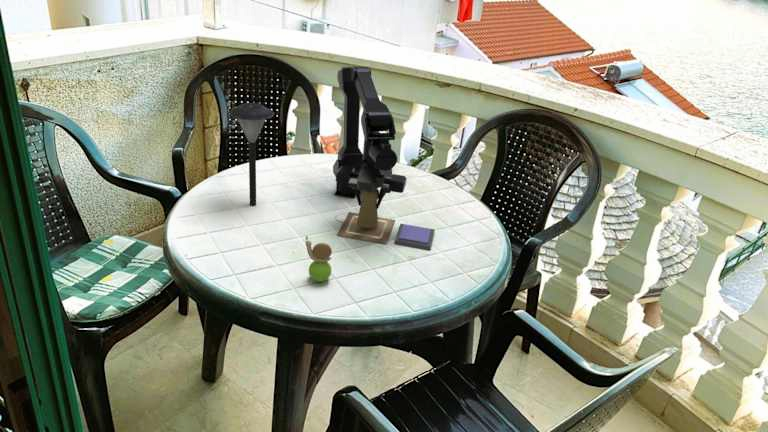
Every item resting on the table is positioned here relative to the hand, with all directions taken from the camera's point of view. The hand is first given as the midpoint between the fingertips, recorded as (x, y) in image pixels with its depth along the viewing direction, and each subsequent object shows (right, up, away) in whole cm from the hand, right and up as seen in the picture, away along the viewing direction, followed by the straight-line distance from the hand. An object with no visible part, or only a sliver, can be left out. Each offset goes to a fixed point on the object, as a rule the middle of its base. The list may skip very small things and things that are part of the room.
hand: (368, 206), depth 161 cm
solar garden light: (-35, +1, +9) cm, 36 cm away
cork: (-1, -5, +3) cm, 5 cm away
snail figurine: (-12, -18, -21) cm, 31 cm away
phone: (+3, +11, +37) cm, 39 cm away
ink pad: (+13, -9, +1) cm, 16 cm away
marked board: (-1, -6, +3) cm, 7 cm away
